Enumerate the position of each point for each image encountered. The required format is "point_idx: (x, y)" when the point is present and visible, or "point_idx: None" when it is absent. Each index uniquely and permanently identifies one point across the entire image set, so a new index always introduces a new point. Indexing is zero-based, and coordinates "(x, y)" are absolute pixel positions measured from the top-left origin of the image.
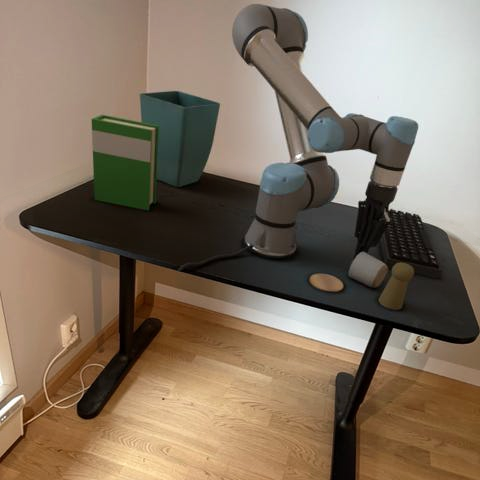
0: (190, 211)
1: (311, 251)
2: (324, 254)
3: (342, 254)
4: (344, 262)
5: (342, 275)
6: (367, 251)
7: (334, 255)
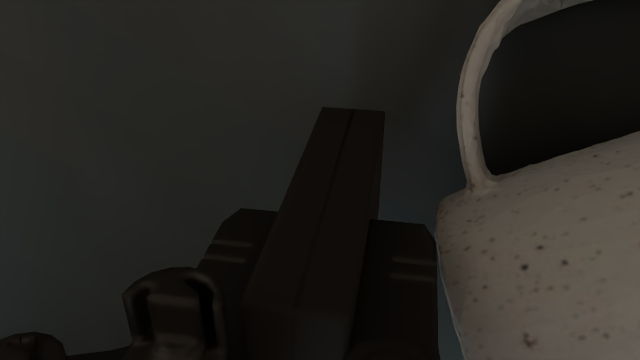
0: None
1: (37, 319)
2: (68, 252)
3: (27, 77)
4: (204, 160)
5: (444, 318)
6: (436, 312)
7: (69, 175)
